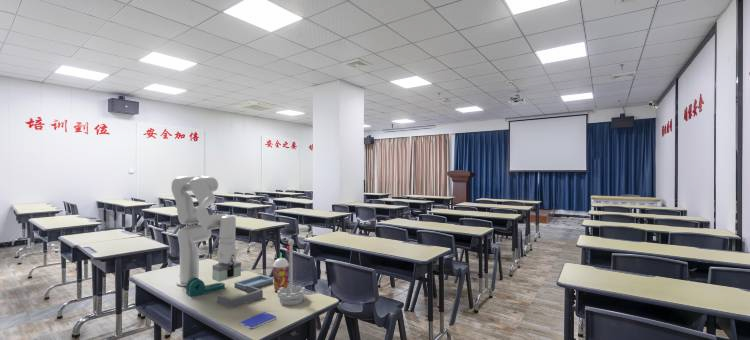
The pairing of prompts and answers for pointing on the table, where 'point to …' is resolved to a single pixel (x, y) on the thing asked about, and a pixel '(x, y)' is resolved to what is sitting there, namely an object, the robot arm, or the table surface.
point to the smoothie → (280, 273)
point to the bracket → (201, 287)
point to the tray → (254, 282)
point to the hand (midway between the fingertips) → (226, 274)
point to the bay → (241, 297)
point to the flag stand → (291, 284)
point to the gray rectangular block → (225, 271)
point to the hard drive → (257, 320)
